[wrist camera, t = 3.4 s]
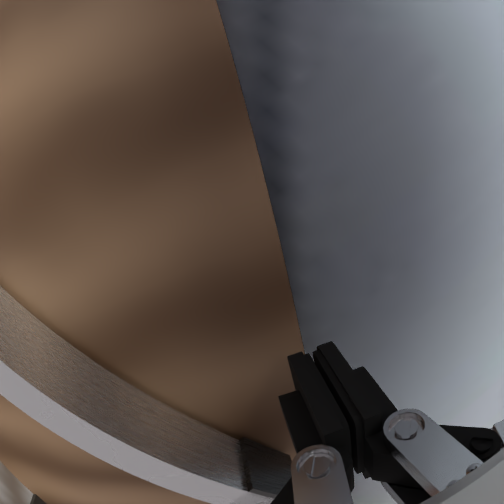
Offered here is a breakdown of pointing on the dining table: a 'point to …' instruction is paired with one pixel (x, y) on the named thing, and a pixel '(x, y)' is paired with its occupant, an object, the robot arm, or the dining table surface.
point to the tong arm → (127, 419)
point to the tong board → (138, 229)
